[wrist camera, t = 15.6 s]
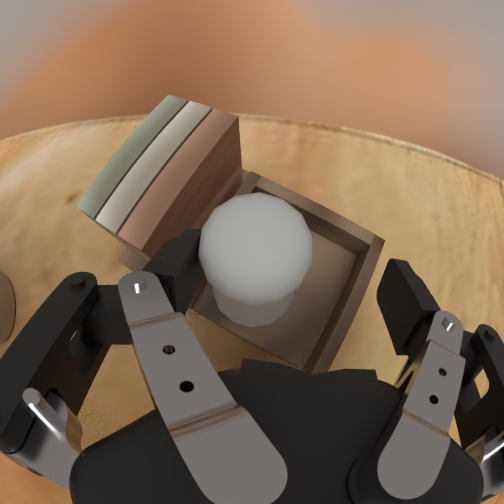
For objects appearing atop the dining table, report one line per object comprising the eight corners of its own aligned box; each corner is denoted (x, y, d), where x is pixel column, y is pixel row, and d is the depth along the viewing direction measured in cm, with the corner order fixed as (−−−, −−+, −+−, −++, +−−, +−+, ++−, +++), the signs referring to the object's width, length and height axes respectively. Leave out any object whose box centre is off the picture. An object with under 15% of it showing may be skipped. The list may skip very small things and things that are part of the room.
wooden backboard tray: (128, 266, 24) (60, 224, 14) (199, 160, 28) (177, 82, 17) (308, 370, 22) (351, 399, 11) (367, 243, 25) (428, 190, 14)
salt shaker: (283, 250, 23) (319, 160, 10) (295, 320, 21) (357, 307, 9) (212, 261, 22) (168, 179, 10) (221, 331, 21) (181, 336, 8)
